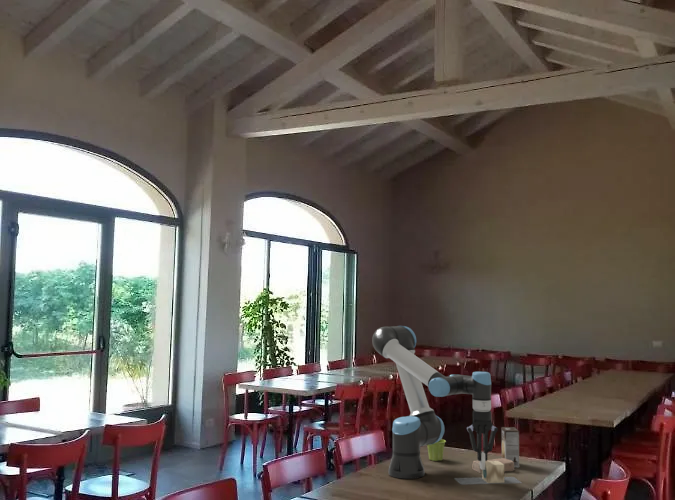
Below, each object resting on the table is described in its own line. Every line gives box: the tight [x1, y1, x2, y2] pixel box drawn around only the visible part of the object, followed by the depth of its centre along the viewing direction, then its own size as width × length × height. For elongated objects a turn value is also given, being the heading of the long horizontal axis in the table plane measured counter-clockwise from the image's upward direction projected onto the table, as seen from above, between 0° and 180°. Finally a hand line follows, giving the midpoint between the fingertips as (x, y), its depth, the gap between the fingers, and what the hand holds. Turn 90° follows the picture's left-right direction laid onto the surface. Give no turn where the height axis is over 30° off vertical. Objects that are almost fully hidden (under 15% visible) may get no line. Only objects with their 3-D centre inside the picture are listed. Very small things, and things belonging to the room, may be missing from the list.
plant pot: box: [426, 438, 447, 462], centre depth 323 cm, size 9×9×9 cm
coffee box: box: [500, 426, 520, 468], centre depth 313 cm, size 9×6×16 cm
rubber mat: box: [453, 476, 523, 486], centre depth 284 cm, size 26×10×1 cm, turn 96°
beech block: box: [481, 461, 505, 483], centre depth 285 cm, size 7×7×7 cm
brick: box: [471, 457, 515, 474], centre depth 302 cm, size 17×8×5 cm, turn 107°
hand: (482, 468), depth 284 cm, fingers closed
